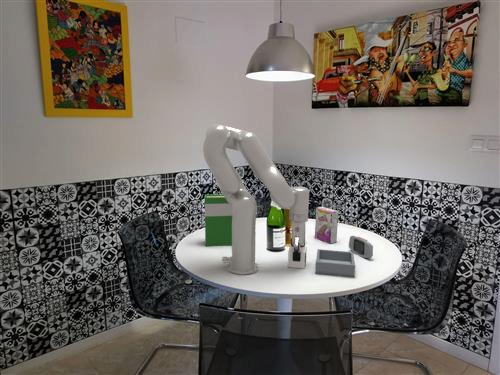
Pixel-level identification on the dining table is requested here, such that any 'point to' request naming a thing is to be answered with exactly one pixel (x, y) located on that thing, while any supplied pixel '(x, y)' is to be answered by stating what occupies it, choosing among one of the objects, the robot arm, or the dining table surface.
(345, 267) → the walled bin
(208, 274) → the dining table surface
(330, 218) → the candy bar box
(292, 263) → the medicine bottle
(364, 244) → the handheld gaming console
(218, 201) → the hardback book
